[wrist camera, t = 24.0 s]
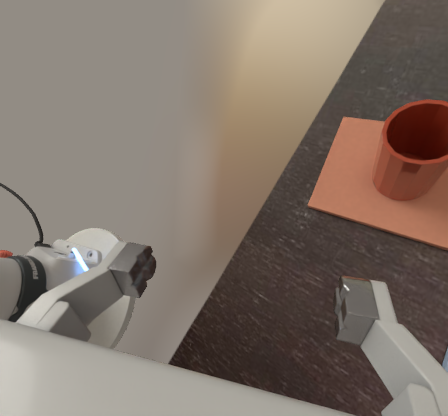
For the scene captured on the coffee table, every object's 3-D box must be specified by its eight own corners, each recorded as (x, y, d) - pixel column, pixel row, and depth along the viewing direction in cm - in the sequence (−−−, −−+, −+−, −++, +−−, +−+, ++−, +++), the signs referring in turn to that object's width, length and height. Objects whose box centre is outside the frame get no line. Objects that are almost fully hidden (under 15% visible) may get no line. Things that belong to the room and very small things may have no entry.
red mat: (308, 207, 36) (307, 205, 35) (343, 120, 37) (343, 116, 37) (475, 259, 27) (479, 258, 26) (512, 142, 29) (517, 138, 28)
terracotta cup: (364, 192, 32) (372, 156, 24) (381, 148, 33) (394, 96, 25) (425, 207, 29) (459, 171, 21) (442, 158, 30) (481, 103, 21)
